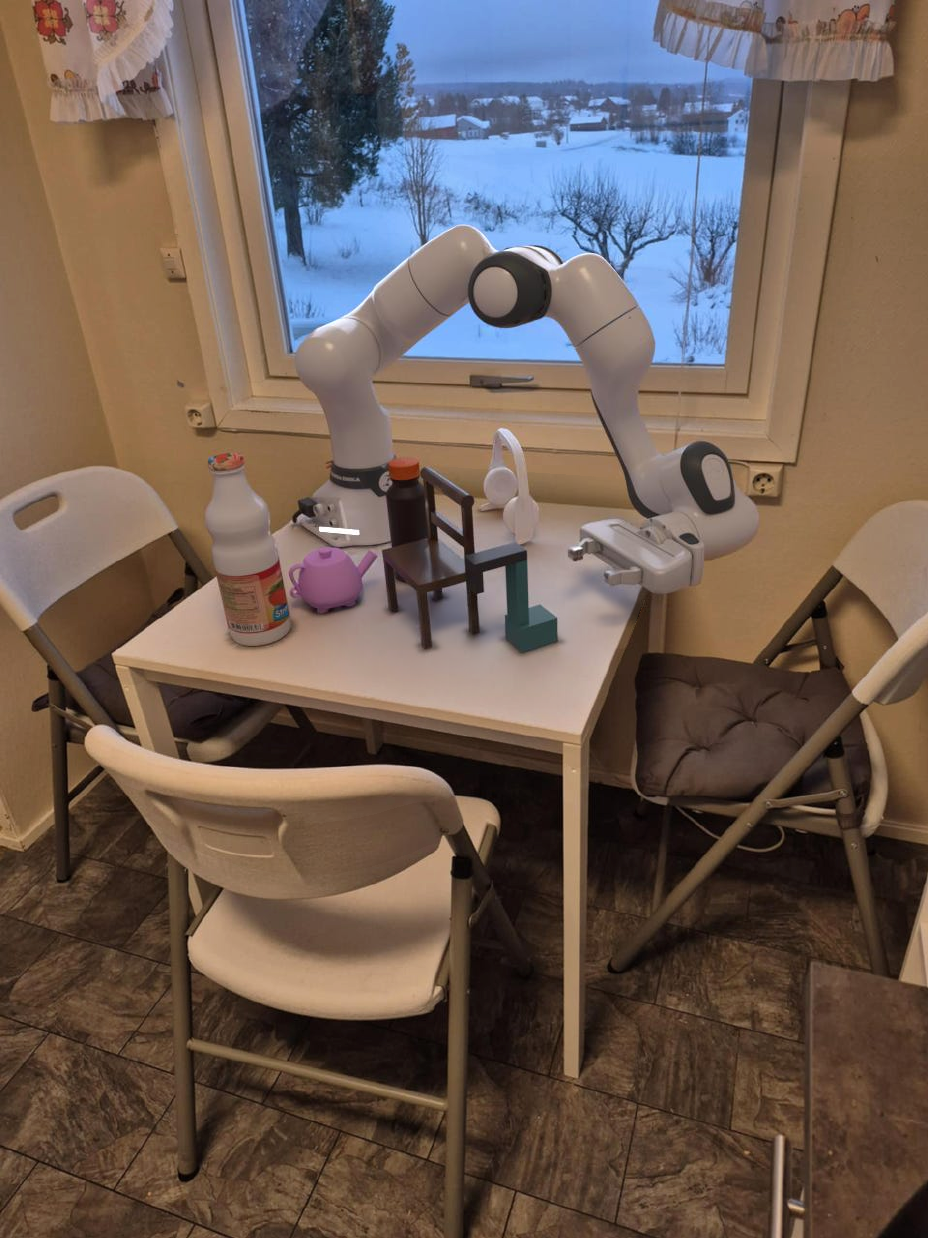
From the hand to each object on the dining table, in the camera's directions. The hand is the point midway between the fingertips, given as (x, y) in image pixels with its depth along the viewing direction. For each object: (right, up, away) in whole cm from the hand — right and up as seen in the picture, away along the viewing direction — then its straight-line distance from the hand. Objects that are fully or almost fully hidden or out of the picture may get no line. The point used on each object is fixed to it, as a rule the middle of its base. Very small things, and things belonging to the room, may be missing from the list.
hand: (588, 566), depth 124 cm
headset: (-9, +10, +37) cm, 40 cm away
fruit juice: (-49, -10, +8) cm, 51 cm away
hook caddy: (-10, -11, 0) cm, 15 cm away
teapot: (-38, -5, +16) cm, 42 cm away
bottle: (-26, 0, +22) cm, 34 cm away
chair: (-23, -8, +8) cm, 25 cm away
